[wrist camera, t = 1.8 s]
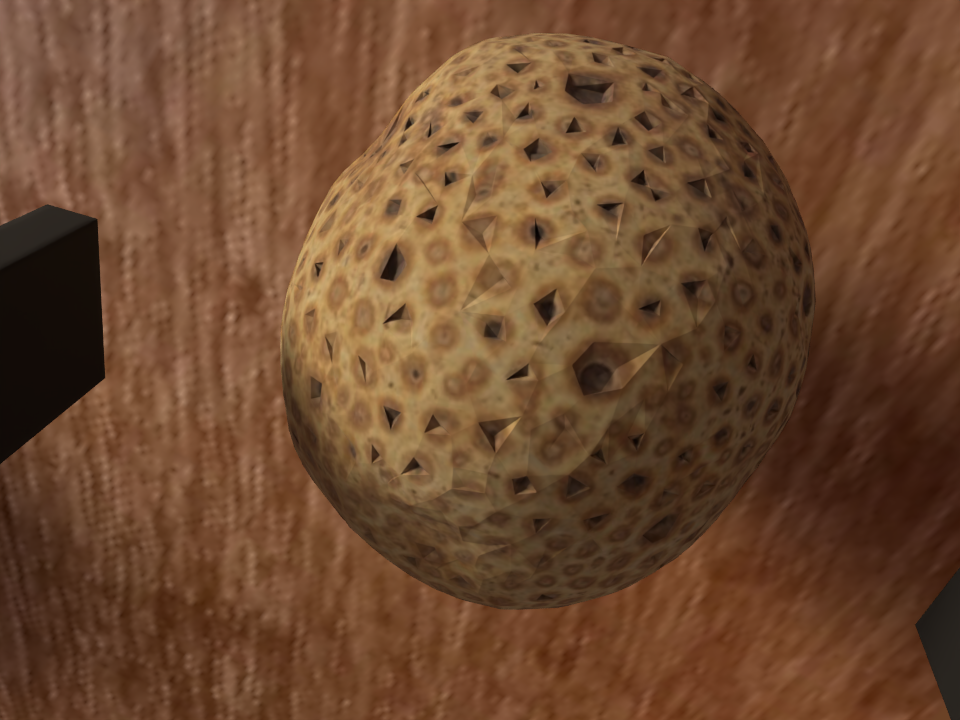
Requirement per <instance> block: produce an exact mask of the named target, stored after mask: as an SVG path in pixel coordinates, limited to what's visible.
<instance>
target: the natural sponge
mask: <svg viewBox="0 0 960 720" xmlns="http://www.w3.org/2000/svg"><path fill="white" fill-rule="evenodd" d="M815 302H816V299H815V282H814V270H813V263H812V255H811V248H810V244H809V240H808V235H807V231H806V228H805V226H804V223H803V220H802V218H801V215H800V212H799V209H798V206H797V204H796V201H795V198H794V197H793V194H792V192H791V189H790V186H789V184H788V181H787V179H786V177H785V176H784V174H783V172H782V171H781V169H780V167H779V166H778V164H777V162H776V161H775V159H774V158H773V156H772V154H771V153H770V151H769V150H768V148H767V146H766V145H765V143H764V142H763V140H762V139H761V138H760V137H759V136H758V135H757V134H756V133H755V131H754V130H753V129H752V128H751V127H750V126H749V124H748V123H747V122H746V121H745V120H744V118H743V117H742V116H741V115H740V114H739V112H737V111H736V110H735V109H734V108H733V107H732V106H731V105H730V104H729V103H728V102H727V101H726V100H725V99H724V98H723V97H722V96H721V95H720V94H719V93H718V92H717V91H715V90H714V89H713V88H711V87H710V86H709V85H708V84H706V83H705V82H704V81H702V80H701V79H699V78H698V77H696V76H695V75H693V74H691V73H690V72H688V71H687V70H686V69H684V68H683V67H681V66H680V65H679V64H677V63H676V62H675V61H673V60H672V59H671V58H669V57H665V56H662V55H658V54H655V53H651V52H648V51H644V50H641V49H637V48H634V47H630V46H626V45H622V44H618V43H614V42H611V41H606V40H601V39H597V38H592V37H588V36H580V35H572V34H547V33H531V34H524V35H516V36H505V37H497V38H490V39H487V40H484V41H480V42H478V43H476V44H474V45H472V46H470V47H468V48H466V49H464V50H462V51H461V52H459V53H457V54H455V55H454V56H452V57H451V58H450V59H449V60H447V61H446V62H445V63H444V64H443V65H442V66H441V67H440V68H439V69H437V70H436V71H435V72H434V73H433V74H432V75H431V76H430V77H429V78H428V79H426V80H425V81H424V82H423V83H422V84H421V85H420V86H419V87H418V88H417V89H415V90H414V92H413V93H412V94H411V95H410V96H409V98H408V99H407V100H406V101H405V102H404V104H403V105H402V107H401V108H400V109H399V111H398V112H397V113H396V115H395V116H394V117H393V119H392V120H391V122H390V123H389V124H388V126H387V127H386V128H385V130H384V131H383V133H382V134H381V135H380V136H379V138H378V139H377V140H376V141H375V142H374V143H373V144H372V145H371V146H370V147H369V148H368V149H367V150H366V151H365V152H364V153H363V154H362V155H361V156H360V157H359V158H358V159H357V160H356V161H355V162H353V163H352V164H351V165H350V166H349V167H348V168H347V169H346V170H345V171H343V173H342V174H341V175H340V176H339V178H338V179H337V180H336V182H335V183H334V184H333V185H332V187H331V188H330V190H329V192H328V194H327V196H326V198H325V199H324V201H323V203H322V205H321V207H320V209H319V211H318V213H317V215H316V217H315V219H314V221H313V223H312V226H311V228H310V230H309V232H308V235H307V237H306V239H305V241H304V244H303V247H302V249H301V252H300V255H299V258H298V261H297V264H296V266H295V269H294V272H293V275H292V277H291V281H290V284H289V286H288V290H287V295H286V300H285V304H284V309H283V317H282V324H281V349H280V362H281V374H282V385H283V396H284V401H285V407H286V414H287V420H288V427H289V432H290V435H291V438H292V441H293V444H294V447H295V450H296V452H297V454H298V456H299V458H300V460H301V462H302V464H303V466H304V467H305V469H306V471H307V472H308V474H309V475H310V477H311V478H312V480H313V481H314V483H315V484H316V485H317V486H318V488H319V489H320V490H321V492H322V493H323V494H324V495H325V497H326V498H327V499H328V500H329V502H330V503H331V504H332V506H333V507H334V508H335V509H336V511H337V512H338V513H339V515H340V516H341V517H342V518H343V519H344V520H345V521H346V523H347V524H348V526H349V527H350V528H351V529H352V530H353V531H355V532H356V533H357V534H358V535H359V536H360V537H361V538H362V539H363V540H365V541H366V542H367V543H368V544H369V545H370V546H371V547H372V548H373V549H375V550H376V551H377V552H378V553H380V554H381V555H382V556H383V557H385V558H386V559H387V560H389V561H390V562H392V563H393V564H394V565H396V566H397V567H399V568H400V569H402V570H403V571H404V572H406V573H407V574H409V575H410V576H412V577H414V578H416V579H418V580H420V581H421V582H423V583H425V584H427V585H429V586H431V587H432V588H434V589H436V590H439V591H441V592H444V593H446V594H449V595H451V596H454V597H456V598H459V599H462V600H465V601H469V602H473V603H477V604H482V605H486V606H490V607H494V608H498V609H516V610H519V609H539V608H558V607H563V606H568V605H572V604H576V603H580V602H583V601H587V600H591V599H595V598H598V597H601V596H605V595H608V594H611V593H614V592H617V591H619V590H622V589H624V588H626V587H629V586H631V585H633V584H634V583H636V582H638V581H640V580H641V579H643V578H645V577H647V576H648V575H650V574H652V573H653V572H655V571H657V570H659V569H660V568H661V567H663V566H664V565H666V564H668V563H669V562H671V561H673V560H674V559H676V558H677V557H678V556H679V555H680V554H682V553H683V552H684V551H685V550H686V549H688V548H689V547H690V546H691V545H692V544H693V543H694V542H695V541H696V540H697V539H698V538H699V537H700V536H701V535H703V534H704V533H705V531H706V530H707V529H708V528H709V527H710V526H711V525H712V524H713V523H714V522H715V521H716V520H717V518H718V517H719V516H720V514H721V513H722V512H723V510H724V509H725V508H726V507H727V506H728V504H729V503H730V502H731V501H732V500H733V498H734V497H735V496H736V494H737V493H738V491H739V490H740V488H741V487H742V486H743V484H744V483H745V482H746V481H747V479H748V478H749V477H750V476H751V475H752V473H753V472H754V471H755V470H756V468H757V467H758V466H759V464H760V462H761V461H762V459H763V458H764V456H765V455H766V453H767V452H768V450H769V449H770V447H771V446H772V445H773V443H774V442H775V441H776V439H777V438H778V436H779V435H780V433H781V432H782V430H783V429H784V427H785V425H786V423H787V422H788V420H789V418H790V416H791V413H792V411H793V408H794V405H795V403H796V400H797V397H798V395H799V392H800V389H801V385H802V381H803V378H804V374H805V371H806V366H807V361H808V354H809V347H810V340H811V333H812V325H813V318H814V310H815Z"/></svg>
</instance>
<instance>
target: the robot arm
mask: <svg viewBox="0 0 960 720" xmlns="http://www.w3.org/2000/svg"><path fill="white" fill-rule="evenodd" d="M104 378H105V366H104V346H103V325H102V305H101V284H100V264H99V243H98V223H97V219H96V218H92V217H89V216H85V215H82V214H78V213H75V212H72V211H68V210H65V209H61V208H58V207H55V206H51V205H48V204H47V205H45V206H43V207H41V208H38V209H36V210H34V211H32V212H30V213H27V214H25V215H23V216H21V217H19V218H16V219H14V220H12V221H10V222H8V223H5V224H3V225H1V226H0V464H1V463H2V462H3V461H4V460H6V459H7V458H8V457H9V456H11V455H12V454H13V453H14V452H15V451H17V450H18V449H19V448H20V447H21V446H23V445H24V444H25V443H26V442H28V441H29V440H30V439H31V438H32V437H34V436H35V435H36V434H37V433H39V432H40V431H41V430H42V429H43V428H45V427H46V426H47V425H48V424H50V423H51V422H52V421H53V420H54V419H56V418H57V417H58V416H59V415H60V414H62V413H63V412H64V411H65V410H67V409H68V408H69V407H70V406H71V405H73V404H74V403H75V402H76V401H78V400H79V399H80V398H81V397H82V396H84V395H85V394H86V393H87V392H89V391H90V390H91V389H92V388H93V387H95V386H96V385H97V384H98V383H99V382H101V381H102V380H103V379H104ZM915 626H916V628H917V631H918V634H919V636H920V639H921V641H922V644H923V647H924V649H925V652H926V655H927V657H928V660H929V663H930V665H931V668H932V671H933V673H934V676H935V679H936V681H937V684H938V687H939V689H940V692H941V694H942V697H943V700H944V702H945V705H946V708H947V710H948V713H949V716H950V718H951V720H960V568H959V569H958V570H957V572H956V573H955V574H954V576H953V577H952V578H951V579H950V581H949V582H948V583H947V585H946V586H945V587H944V588H943V590H942V591H941V592H940V594H939V595H938V596H937V597H936V599H935V600H934V601H933V603H932V604H931V605H930V606H929V608H928V609H927V610H926V611H925V613H924V614H923V615H922V617H921V618H920V619H919V620H918V622H917V623H916V624H915Z"/></svg>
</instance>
